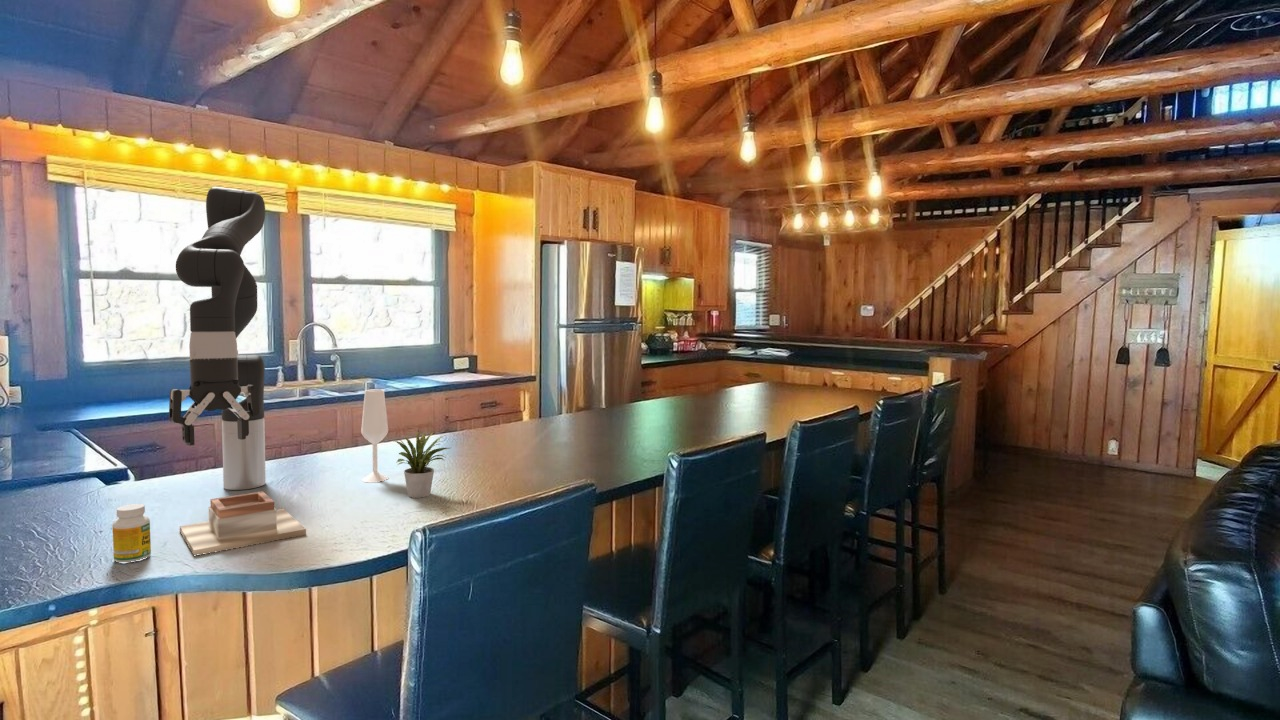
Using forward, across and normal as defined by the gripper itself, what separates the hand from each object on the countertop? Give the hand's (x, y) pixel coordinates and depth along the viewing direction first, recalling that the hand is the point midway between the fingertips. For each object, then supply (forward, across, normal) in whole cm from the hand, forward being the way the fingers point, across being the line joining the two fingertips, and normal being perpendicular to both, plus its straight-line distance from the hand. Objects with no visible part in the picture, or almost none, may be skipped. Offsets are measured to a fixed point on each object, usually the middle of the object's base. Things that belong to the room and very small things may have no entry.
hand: (216, 442), depth 124 cm
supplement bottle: (+20, +12, -6) cm, 24 cm away
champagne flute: (+19, -45, -27) cm, 56 cm away
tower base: (+20, -6, -6) cm, 22 cm away
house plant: (+20, -44, -5) cm, 49 cm away
